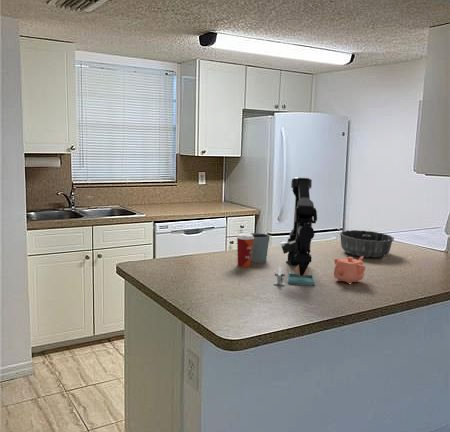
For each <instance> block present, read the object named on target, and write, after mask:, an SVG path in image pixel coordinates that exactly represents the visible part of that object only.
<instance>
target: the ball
mask: <svg viewBox="0 0 450 432" xmlns="http://www.w3.org/2000/svg"><path fill="white" fill-rule="evenodd" d="M294 270H295V272H294V273H295V274H297V275H298V276H300V271H299V265H296V267H295V269H294ZM308 272H309V269H308V267H307V269H306V271H305V273H304V275H303V276H305V275H306V274H309V273H308ZM303 276H301V277H303Z"/></svg>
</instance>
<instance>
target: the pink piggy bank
mask: <svg viewBox="0 0 450 432" xmlns="http://www.w3.org/2000/svg"><path fill="white" fill-rule="evenodd" d="M364 257H365V256H362V257H360V256H359V258H358V259H355V258H354V256H347V257H346V258H341V259H340V258H334V260H333V262H334V265H335V267H334V269H333V270H334V271H333V277H334V279H336V280H339V281H342V282H346V284H347V283H352V284H353V282H354V283H356V282H358V281H359V282H360V281H361V280H363V278H364V275H365V270H366V265H364V262H363V259H364Z"/></svg>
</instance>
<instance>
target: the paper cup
mask: <svg viewBox="0 0 450 432" xmlns="http://www.w3.org/2000/svg"><path fill="white" fill-rule="evenodd" d="M253 239H254V237H253V235H252V234H251V233H238V234H237V236H236V240H237V241H236V243H237V246H236V247H237V266H238V267H240V268H249V267H251V264H252V262H251V256H252V246H253Z"/></svg>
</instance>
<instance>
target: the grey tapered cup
mask: <svg viewBox="0 0 450 432" xmlns="http://www.w3.org/2000/svg"><path fill="white" fill-rule="evenodd" d="M250 234H252V235H253V237H254V239H253V246H252V256H251V263H258V264H259V263H260V264H261V263H265V262H267V259H268V258H267V256H268V250H269V249H268V248H269V243H270V236H271V235H269V234H267V233H260V232H259V233H258V232H256V233H255V232H253V233H250Z"/></svg>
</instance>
